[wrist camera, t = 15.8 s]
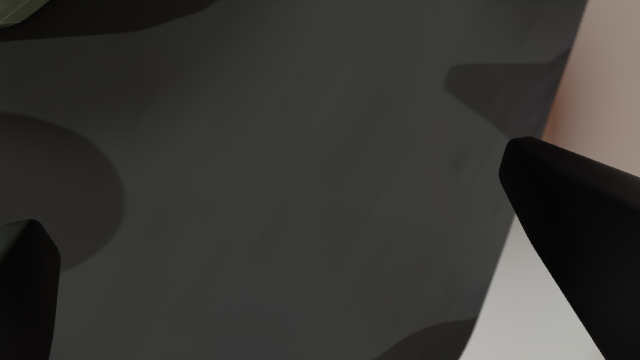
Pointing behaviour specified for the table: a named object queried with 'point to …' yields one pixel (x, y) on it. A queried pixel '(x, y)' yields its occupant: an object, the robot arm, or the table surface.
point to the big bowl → (17, 10)
